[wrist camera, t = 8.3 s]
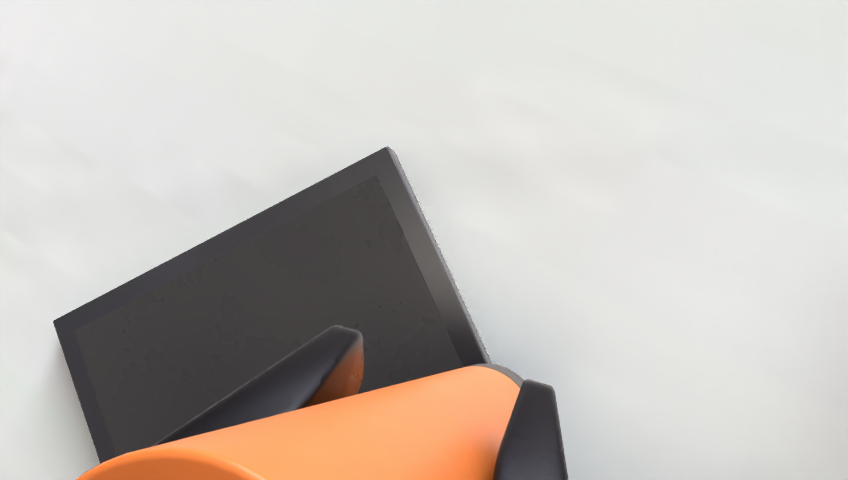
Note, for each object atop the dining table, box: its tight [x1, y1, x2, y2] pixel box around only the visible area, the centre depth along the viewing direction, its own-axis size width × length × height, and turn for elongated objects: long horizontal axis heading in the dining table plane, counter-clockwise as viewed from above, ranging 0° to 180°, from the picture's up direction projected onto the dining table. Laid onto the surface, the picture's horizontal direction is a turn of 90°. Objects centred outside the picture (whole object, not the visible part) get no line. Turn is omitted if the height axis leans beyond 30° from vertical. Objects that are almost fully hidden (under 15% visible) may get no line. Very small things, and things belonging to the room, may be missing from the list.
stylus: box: [76, 363, 524, 480], centre depth 10 cm, size 2×2×13 cm
